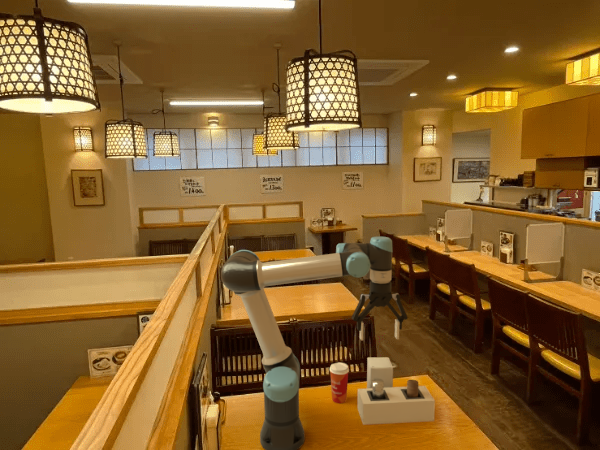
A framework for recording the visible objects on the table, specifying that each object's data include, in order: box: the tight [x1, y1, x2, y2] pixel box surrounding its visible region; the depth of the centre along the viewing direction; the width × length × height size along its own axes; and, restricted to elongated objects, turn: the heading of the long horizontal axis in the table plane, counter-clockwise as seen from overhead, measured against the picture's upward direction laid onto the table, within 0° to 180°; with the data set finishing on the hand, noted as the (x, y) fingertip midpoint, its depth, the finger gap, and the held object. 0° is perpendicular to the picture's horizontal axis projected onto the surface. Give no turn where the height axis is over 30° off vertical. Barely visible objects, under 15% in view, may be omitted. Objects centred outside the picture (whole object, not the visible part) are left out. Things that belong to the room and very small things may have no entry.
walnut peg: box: [406, 379, 419, 398], centre depth 152 cm, size 4×4×8 cm
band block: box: [357, 385, 436, 426], centre depth 153 cm, size 26×10×8 cm, turn 93°
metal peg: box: [372, 379, 384, 400], centre depth 152 cm, size 4×4×8 cm
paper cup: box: [329, 361, 350, 404], centre depth 163 cm, size 8×8×14 cm
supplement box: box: [366, 356, 394, 389], centre depth 164 cm, size 9×9×15 cm
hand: (379, 338), depth 149 cm, fingers open, 12 cm apart
